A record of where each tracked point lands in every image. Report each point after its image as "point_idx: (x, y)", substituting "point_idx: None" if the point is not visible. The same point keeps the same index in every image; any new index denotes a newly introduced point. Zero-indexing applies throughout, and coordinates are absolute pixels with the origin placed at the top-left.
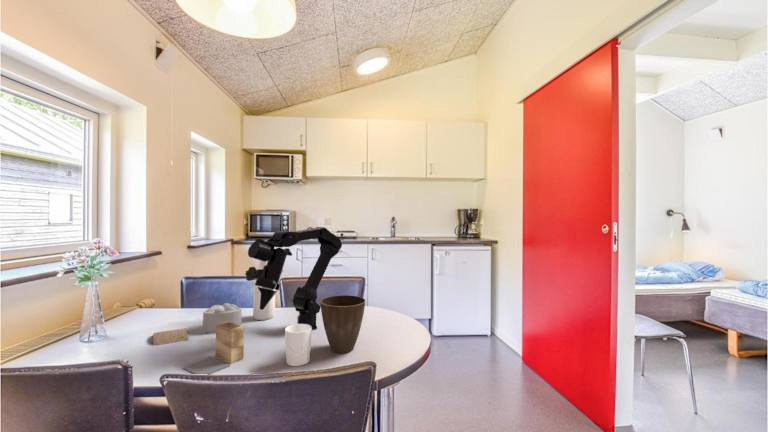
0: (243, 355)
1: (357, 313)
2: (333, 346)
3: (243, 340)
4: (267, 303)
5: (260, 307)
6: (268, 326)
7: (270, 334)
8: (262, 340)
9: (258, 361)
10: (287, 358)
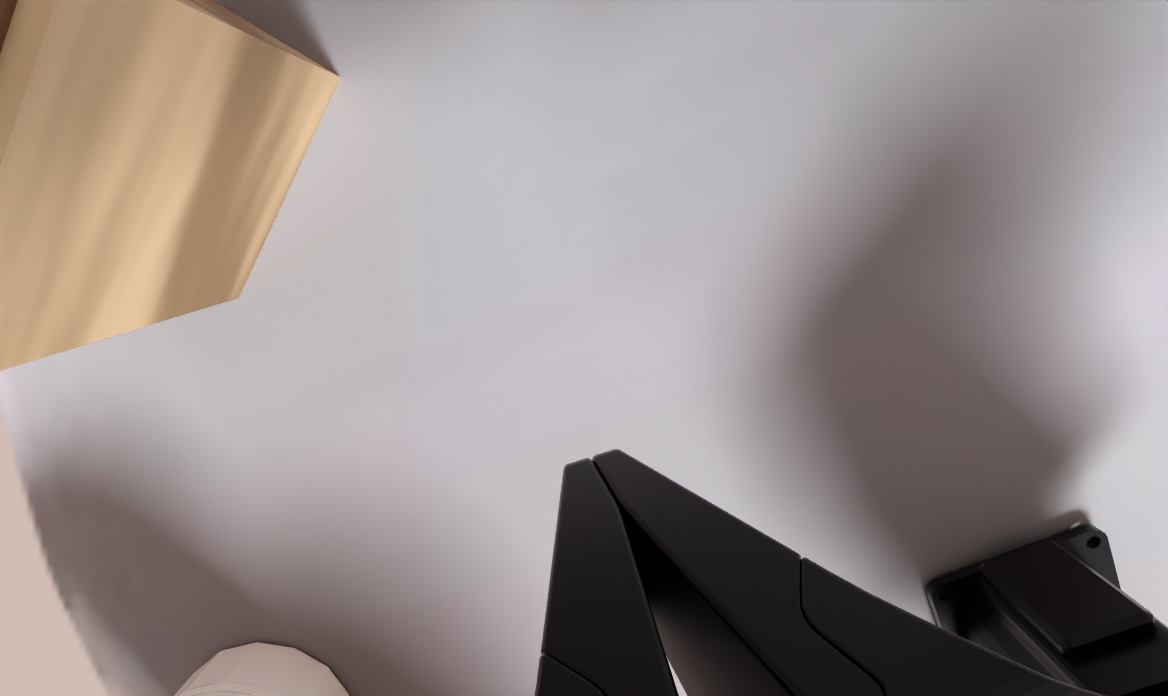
0: (219, 303)
1: None
2: None
3: (106, 334)
4: (672, 666)
5: (564, 494)
6: (1142, 196)
7: (857, 317)
8: (685, 297)
9: (219, 440)
10: (177, 694)
